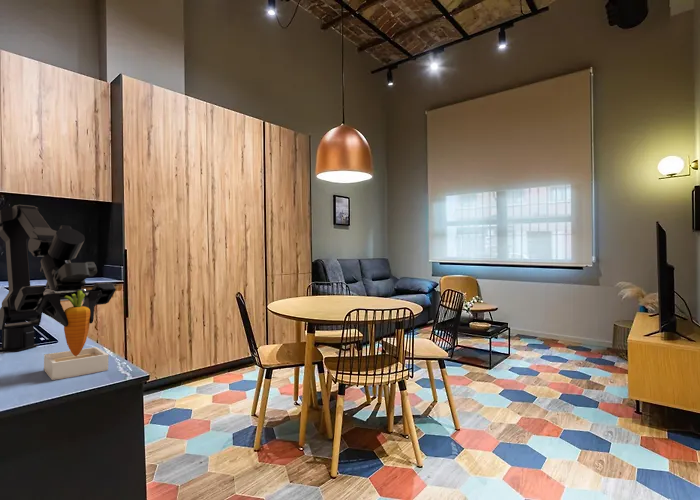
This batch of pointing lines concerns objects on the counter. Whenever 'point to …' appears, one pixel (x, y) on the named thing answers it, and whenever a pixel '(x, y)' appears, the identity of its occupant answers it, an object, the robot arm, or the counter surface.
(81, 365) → the beige open box
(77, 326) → the carrot
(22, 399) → the counter surface
